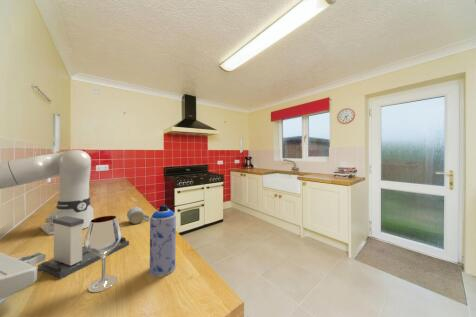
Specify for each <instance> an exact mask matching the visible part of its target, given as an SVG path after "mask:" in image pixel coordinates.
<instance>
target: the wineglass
mask: <svg viewBox="0 0 476 317" xmlns="http://www.w3.org/2000/svg"><path fill="white" fill-rule="evenodd" d="M122 233H123V232H122V229H121V226H120V223H119V219H118V216H116V215H104V216H99V217H95V218H94V219H93V220H91V221H90V224H89V227H87V231H86V233H85V236H84V241H83V245H84V246H85V249H86V250H87V251H88V252H90V253H92V254H94V255H97V256H99V257H101V258H102V259H101V277H99V278H97V279H95V280H93V281H92V282H91V283H90V284H89V285H88V287H87V291H88V292H89V293H100V292H103V291H106V290H108V289H109V288H112V287H113V286H114V285H115V284H116V283H117V281H118V276H117V275H115V274H109V275H106V261H107V260H106V258H107V257H108V256H109V255H108V254H109V253H110V252H111V251H112V250H113V249H114V248H115V247H116V246H117V245H118V244H119V242H120V240H121V237H123V234H122ZM84 246H83V247H84ZM107 255H108V256H107Z"/></svg>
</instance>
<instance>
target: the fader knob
mask: <svg viewBox="0 0 476 317" xmlns="http://www.w3.org/2000/svg"><path fill="white" fill-rule="evenodd" d="M53 223H54V234H53V259H54V260H56V261H59V262H62V263H64V264H67V265H70V266H71V265H73V264H75V263H77V262H80V261H82V247H83V229H82V225H83V223H84V219H79V218H74V217H69V216H64V217H60V218H56V219H53Z"/></svg>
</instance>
